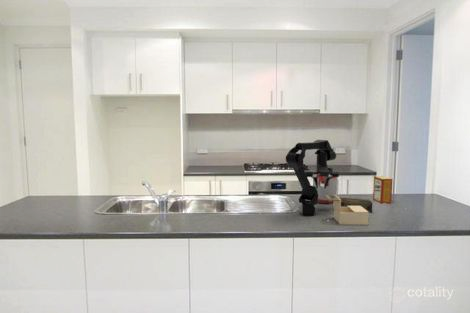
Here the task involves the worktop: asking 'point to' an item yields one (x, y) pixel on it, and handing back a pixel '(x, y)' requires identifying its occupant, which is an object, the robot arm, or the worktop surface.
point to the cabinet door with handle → (334, 201)
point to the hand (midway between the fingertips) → (320, 188)
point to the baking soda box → (382, 189)
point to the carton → (351, 215)
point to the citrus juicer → (329, 189)
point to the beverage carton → (357, 203)
